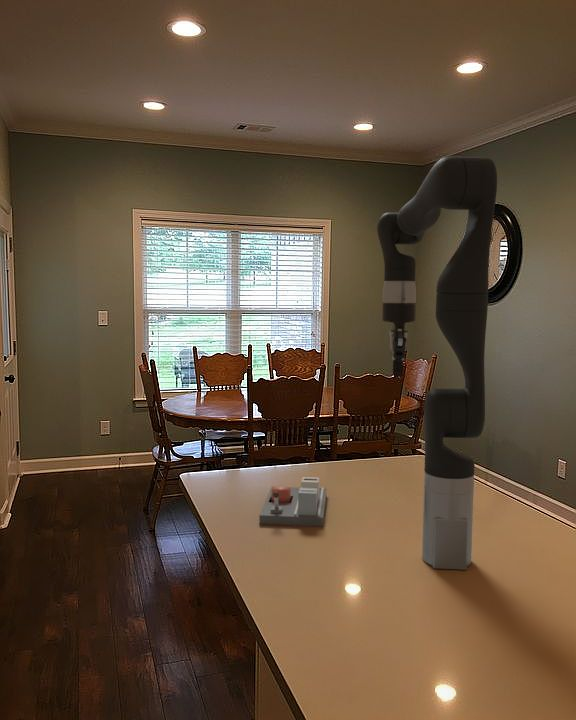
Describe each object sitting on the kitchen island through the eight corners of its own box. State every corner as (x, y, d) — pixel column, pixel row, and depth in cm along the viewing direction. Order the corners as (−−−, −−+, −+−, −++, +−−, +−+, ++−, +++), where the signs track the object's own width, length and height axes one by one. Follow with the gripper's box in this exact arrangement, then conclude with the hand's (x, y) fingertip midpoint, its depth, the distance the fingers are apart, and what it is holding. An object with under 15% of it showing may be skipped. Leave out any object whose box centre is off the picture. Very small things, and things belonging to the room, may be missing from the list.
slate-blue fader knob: (316, 515, 142) (316, 492, 142) (298, 515, 142) (298, 492, 142) (317, 509, 146) (317, 487, 146) (299, 509, 146) (299, 486, 146)
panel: (322, 526, 141) (322, 495, 140) (259, 524, 142) (259, 492, 142) (326, 496, 163) (326, 468, 162) (271, 494, 164) (271, 466, 164)
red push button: (289, 508, 152) (289, 491, 151) (270, 508, 152) (270, 490, 152) (291, 502, 156) (291, 485, 156) (272, 501, 157) (272, 485, 156)
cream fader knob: (318, 503, 151) (318, 481, 150) (301, 502, 151) (301, 480, 151) (318, 498, 155) (319, 476, 154) (302, 497, 155) (302, 476, 155)
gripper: (418, 301, 141) (416, 380, 142) (413, 301, 154) (411, 373, 156) (384, 301, 142) (382, 379, 143) (381, 301, 155) (379, 372, 156)
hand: (397, 376), depth 149 cm, fingers closed
